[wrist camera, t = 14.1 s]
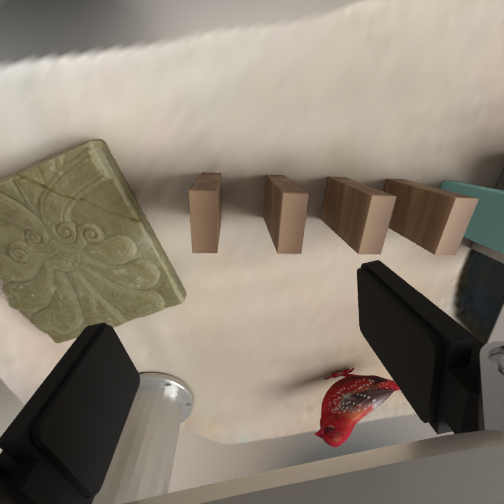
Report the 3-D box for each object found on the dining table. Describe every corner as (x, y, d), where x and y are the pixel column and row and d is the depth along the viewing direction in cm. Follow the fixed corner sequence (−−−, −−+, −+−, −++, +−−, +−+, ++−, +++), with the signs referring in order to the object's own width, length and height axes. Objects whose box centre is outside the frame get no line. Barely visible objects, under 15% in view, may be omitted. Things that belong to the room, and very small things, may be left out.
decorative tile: (106, 136, 26) (89, 136, 23) (189, 291, 34) (185, 307, 31) (-51, 198, 27) (-90, 206, 24) (65, 333, 36) (49, 352, 32)
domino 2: (263, 218, 30) (277, 253, 21) (266, 174, 28) (283, 193, 19) (280, 218, 30) (301, 253, 21) (284, 175, 28) (309, 194, 19)
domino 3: (321, 219, 31) (358, 254, 22) (327, 176, 29) (372, 195, 20) (336, 219, 31) (380, 254, 22) (344, 177, 29) (396, 196, 20)
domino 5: (428, 221, 32) (506, 255, 23) (442, 181, 30) (534, 200, 21) (443, 222, 32) (526, 255, 23) (458, 181, 30) (556, 201, 21)
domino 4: (376, 220, 31) (434, 254, 22) (386, 178, 29) (455, 198, 20) (391, 220, 32) (455, 254, 23) (403, 179, 30) (479, 198, 20)
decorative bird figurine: (298, 379, 42) (316, 446, 33) (402, 343, 41) (451, 402, 31) (303, 390, 43) (322, 457, 34) (404, 355, 42) (452, 415, 33)
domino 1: (204, 217, 30) (192, 252, 21) (202, 172, 28) (188, 190, 19) (221, 217, 30) (217, 252, 21) (221, 173, 28) (216, 191, 19)
